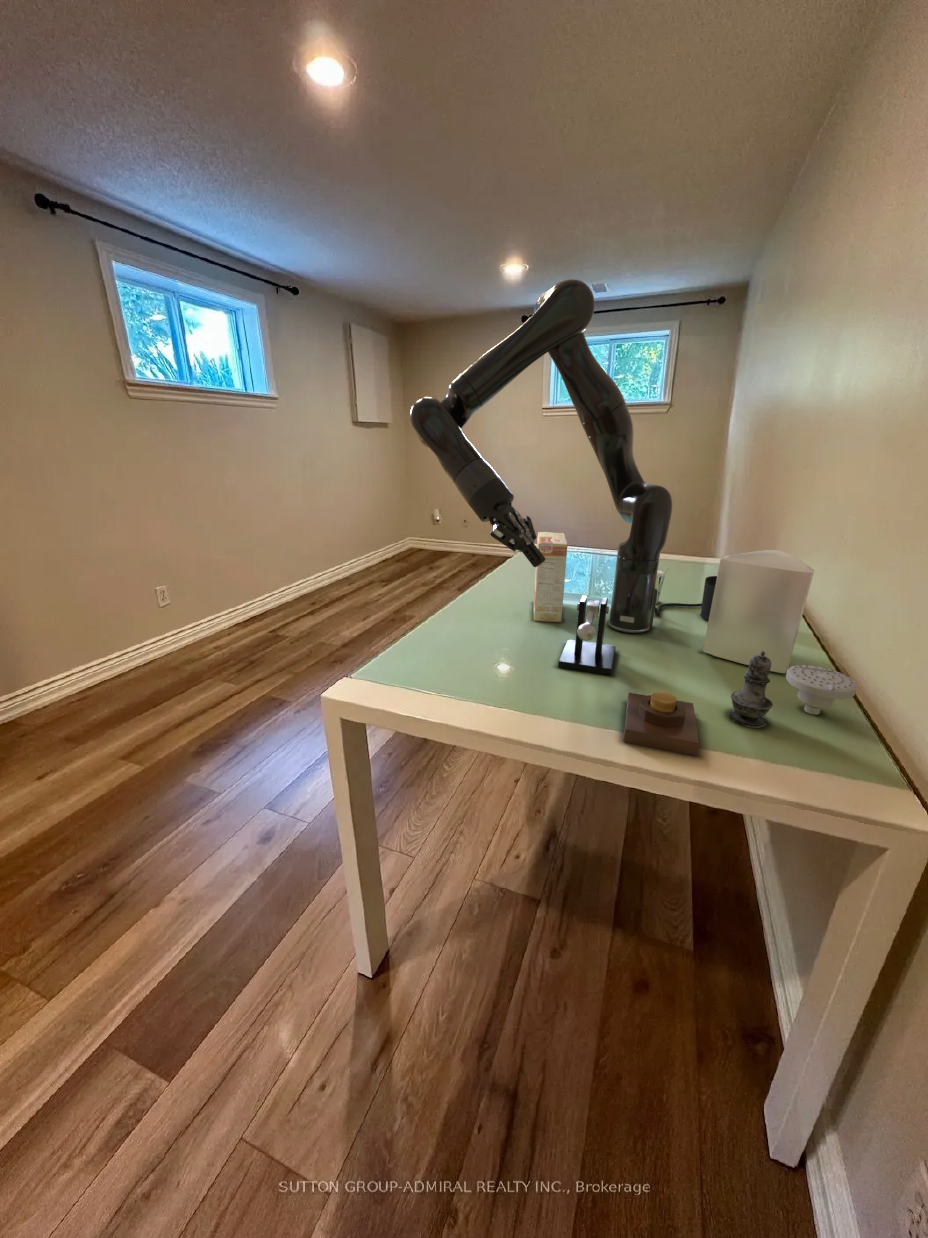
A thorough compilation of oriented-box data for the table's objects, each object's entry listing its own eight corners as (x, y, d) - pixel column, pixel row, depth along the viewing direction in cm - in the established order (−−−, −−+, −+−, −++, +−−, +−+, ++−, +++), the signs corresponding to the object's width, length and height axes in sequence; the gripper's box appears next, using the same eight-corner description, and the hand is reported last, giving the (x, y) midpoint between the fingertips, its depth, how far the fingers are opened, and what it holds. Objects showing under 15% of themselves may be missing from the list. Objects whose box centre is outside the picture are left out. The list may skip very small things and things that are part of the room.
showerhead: (798, 681, 76) (782, 656, 85) (787, 722, 78) (772, 693, 87) (871, 691, 73) (846, 664, 82) (857, 733, 75) (835, 702, 84)
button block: (627, 703, 83) (630, 682, 82) (690, 714, 80) (695, 693, 79) (623, 741, 73) (626, 718, 71) (696, 756, 69) (701, 732, 68)
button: (649, 699, 77) (651, 689, 77) (674, 703, 76) (676, 694, 76) (649, 710, 74) (651, 700, 73) (675, 715, 73) (677, 705, 72)
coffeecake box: (533, 602, 135) (537, 531, 128) (559, 603, 134) (565, 532, 127) (532, 621, 121) (537, 542, 114) (561, 622, 120) (568, 543, 113)
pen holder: (741, 617, 125) (749, 579, 121) (738, 628, 117) (746, 588, 114) (701, 610, 130) (708, 574, 126) (695, 620, 122) (702, 582, 119)
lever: (593, 645, 87) (595, 629, 85) (575, 642, 88) (576, 626, 86) (601, 613, 98) (602, 599, 96) (584, 611, 99) (586, 597, 97)
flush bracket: (610, 675, 93) (618, 612, 89) (558, 667, 96) (563, 605, 92) (614, 651, 104) (622, 594, 99) (567, 645, 107) (572, 588, 102)
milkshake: (665, 605, 133) (670, 569, 130) (644, 604, 134) (649, 568, 131) (662, 600, 138) (667, 565, 134) (642, 599, 139) (647, 564, 135)
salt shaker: (719, 710, 81) (733, 643, 77) (752, 709, 82) (768, 643, 78) (740, 730, 76) (757, 659, 72) (776, 728, 76) (795, 658, 72)
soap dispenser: (700, 654, 103) (720, 551, 95) (722, 636, 113) (741, 541, 105) (783, 677, 93) (813, 564, 86) (798, 655, 103) (826, 552, 96)
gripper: (478, 478, 83) (540, 558, 81) (513, 474, 94) (568, 544, 92) (451, 507, 88) (510, 584, 86) (488, 500, 98) (540, 568, 96)
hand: (540, 563), depth 89 cm, fingers closed
